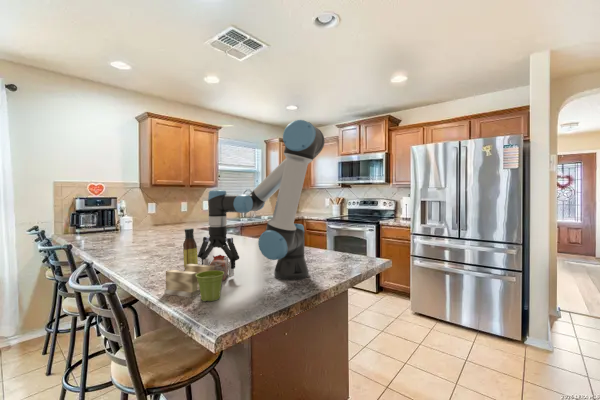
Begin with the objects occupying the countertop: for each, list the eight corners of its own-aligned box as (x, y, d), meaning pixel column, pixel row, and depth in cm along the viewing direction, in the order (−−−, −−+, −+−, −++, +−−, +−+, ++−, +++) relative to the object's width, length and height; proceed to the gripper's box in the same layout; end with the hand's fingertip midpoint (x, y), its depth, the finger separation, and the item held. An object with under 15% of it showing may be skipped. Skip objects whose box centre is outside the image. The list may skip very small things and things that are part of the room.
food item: (226, 281, 120) (226, 258, 120) (206, 282, 119) (206, 258, 119) (229, 273, 134) (229, 251, 134) (211, 274, 133) (211, 252, 133)
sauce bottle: (200, 268, 143) (199, 227, 143) (194, 271, 137) (193, 229, 136) (187, 268, 144) (186, 227, 143) (180, 271, 137) (180, 229, 137)
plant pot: (191, 298, 100) (190, 273, 100) (216, 292, 107) (215, 268, 107) (203, 305, 94) (203, 279, 94) (229, 298, 100) (229, 273, 100)
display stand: (215, 285, 115) (215, 265, 115) (190, 297, 102) (190, 274, 102) (191, 282, 119) (190, 263, 119) (164, 293, 106) (164, 271, 106)
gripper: (247, 225, 125) (247, 275, 126) (200, 224, 134) (200, 270, 134) (237, 227, 118) (238, 280, 119) (188, 225, 127) (189, 274, 127)
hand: (218, 275), depth 126 cm, fingers open, 12 cm apart
